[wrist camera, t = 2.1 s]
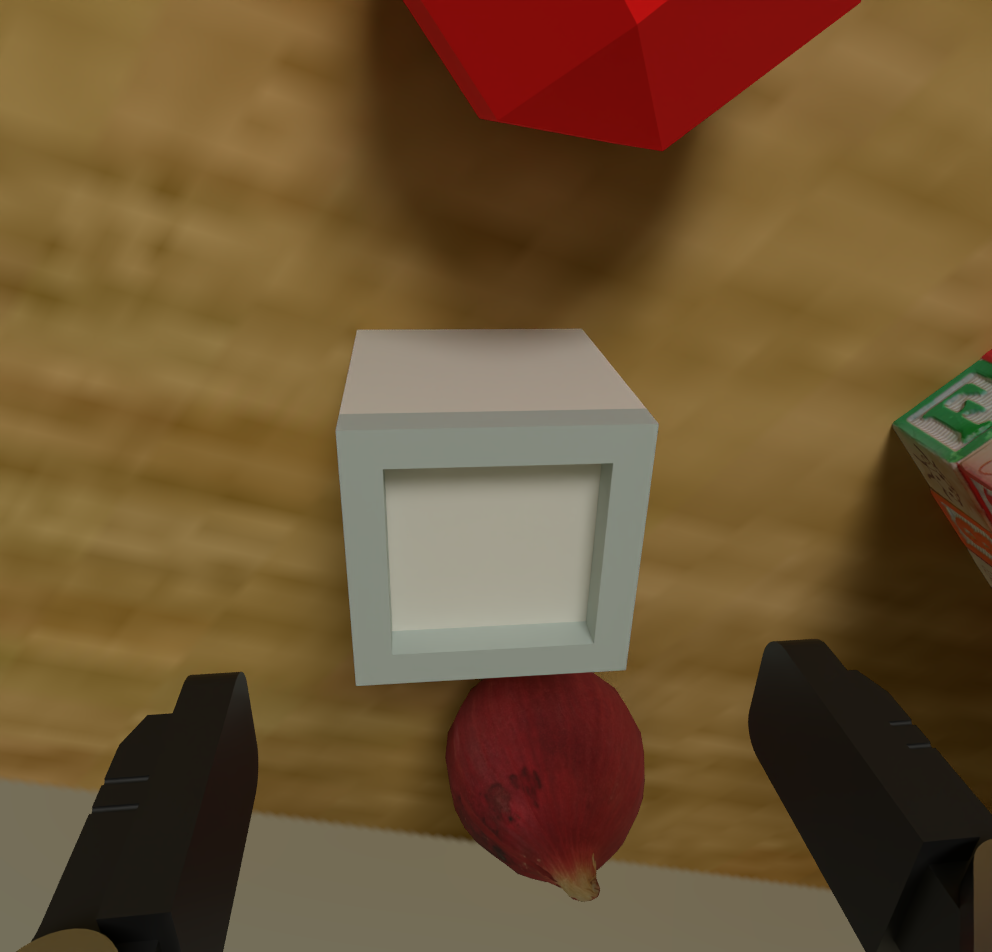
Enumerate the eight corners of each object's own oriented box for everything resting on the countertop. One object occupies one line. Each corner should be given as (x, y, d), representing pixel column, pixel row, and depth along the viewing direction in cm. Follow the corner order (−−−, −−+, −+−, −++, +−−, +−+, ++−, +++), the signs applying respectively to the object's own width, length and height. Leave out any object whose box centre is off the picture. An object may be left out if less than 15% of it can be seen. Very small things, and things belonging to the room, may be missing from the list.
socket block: (580, 328, 20) (658, 424, 14) (566, 519, 23) (625, 670, 16) (357, 329, 19) (335, 430, 13) (369, 526, 22) (356, 685, 16)
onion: (452, 747, 26) (469, 985, 19) (430, 619, 24) (441, 841, 16) (611, 722, 26) (687, 948, 19) (607, 593, 24) (693, 800, 17)
